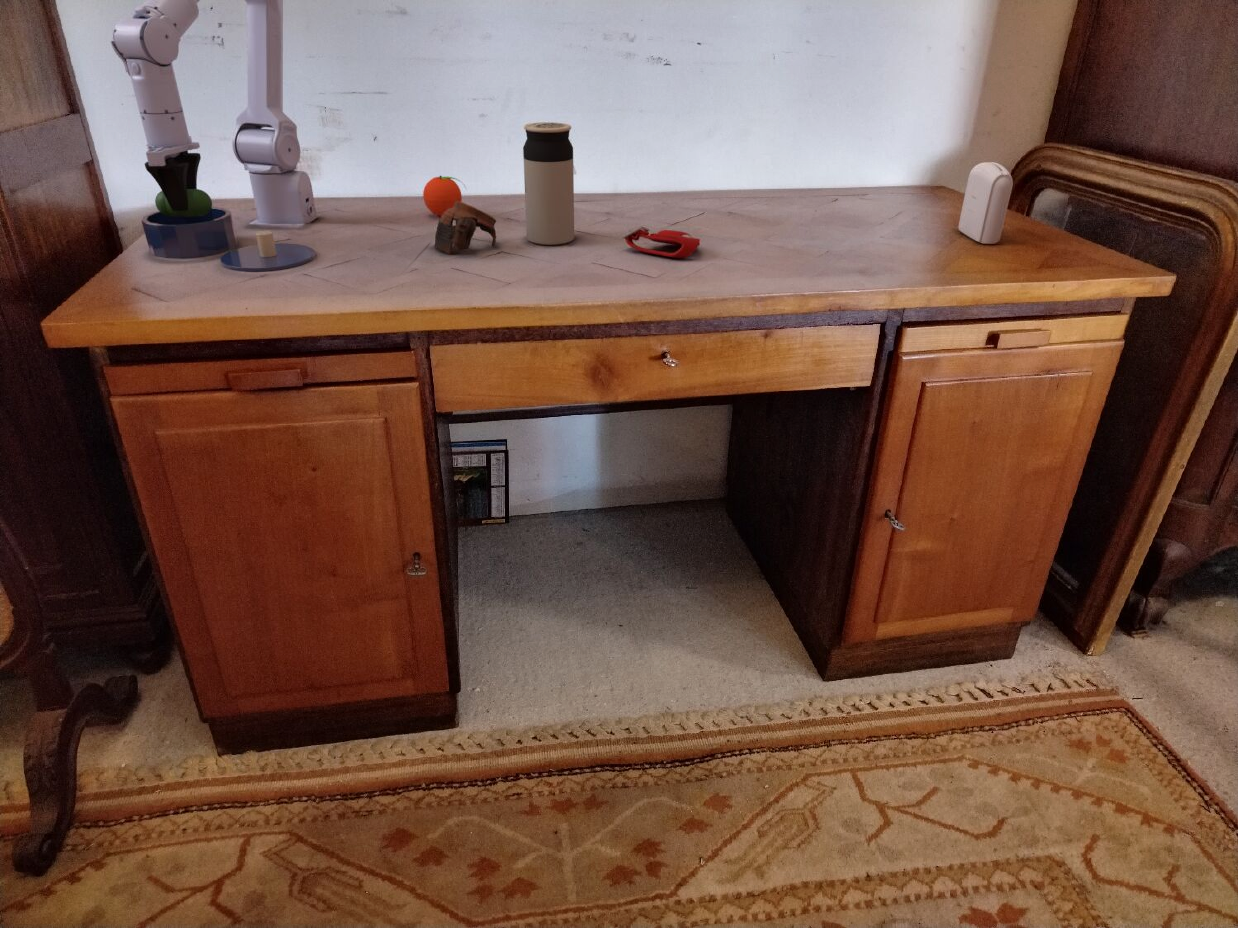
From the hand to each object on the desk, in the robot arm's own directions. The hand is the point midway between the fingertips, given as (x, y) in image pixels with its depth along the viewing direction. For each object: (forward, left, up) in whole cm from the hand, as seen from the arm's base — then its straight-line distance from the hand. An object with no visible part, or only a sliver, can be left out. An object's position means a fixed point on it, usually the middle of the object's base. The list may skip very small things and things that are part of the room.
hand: (184, 207), depth 127 cm
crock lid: (-14, +5, -6) cm, 16 cm away
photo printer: (-129, -21, -7) cm, 131 cm away
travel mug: (-55, -12, -7) cm, 57 cm away
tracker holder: (-74, -7, -7) cm, 75 cm away
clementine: (-34, -27, -7) cm, 44 cm away
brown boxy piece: (-42, -5, -7) cm, 43 cm away
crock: (0, 0, -7) cm, 7 cm away
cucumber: (0, 0, -1) cm, 1 cm away
